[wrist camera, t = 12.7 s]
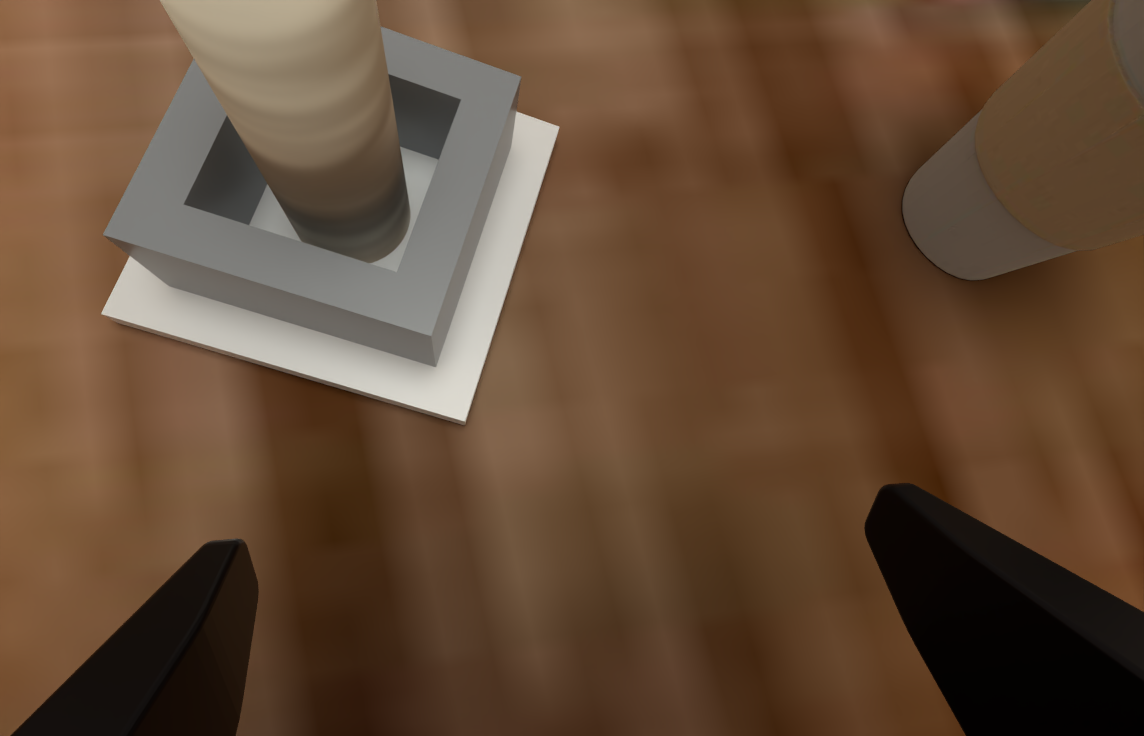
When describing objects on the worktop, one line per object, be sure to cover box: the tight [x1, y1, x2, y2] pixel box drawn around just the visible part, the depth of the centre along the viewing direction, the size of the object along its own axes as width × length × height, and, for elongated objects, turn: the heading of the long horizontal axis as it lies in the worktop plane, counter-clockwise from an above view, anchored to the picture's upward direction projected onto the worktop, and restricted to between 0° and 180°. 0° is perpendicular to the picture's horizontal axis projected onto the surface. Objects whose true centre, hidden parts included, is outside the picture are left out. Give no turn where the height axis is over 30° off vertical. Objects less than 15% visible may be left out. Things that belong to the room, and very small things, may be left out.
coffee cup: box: [902, 0, 1144, 280], centre depth 21 cm, size 9×9×15 cm
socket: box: [101, 27, 559, 425], centre depth 21 cm, size 12×12×5 cm
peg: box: [160, 0, 410, 263], centre depth 16 cm, size 4×4×13 cm
